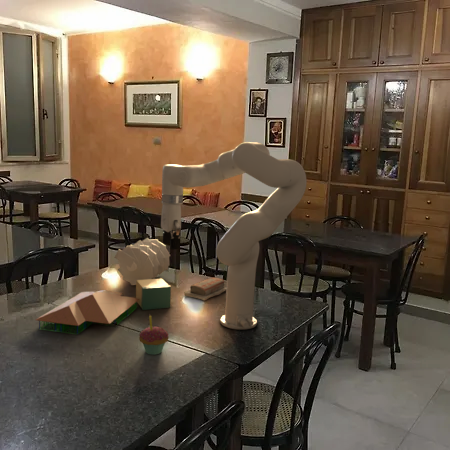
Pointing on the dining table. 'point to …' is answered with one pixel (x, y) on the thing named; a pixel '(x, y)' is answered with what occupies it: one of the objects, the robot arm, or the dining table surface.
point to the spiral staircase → (143, 260)
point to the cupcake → (153, 338)
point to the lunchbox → (153, 294)
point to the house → (89, 310)
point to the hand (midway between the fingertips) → (170, 246)
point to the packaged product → (206, 288)
